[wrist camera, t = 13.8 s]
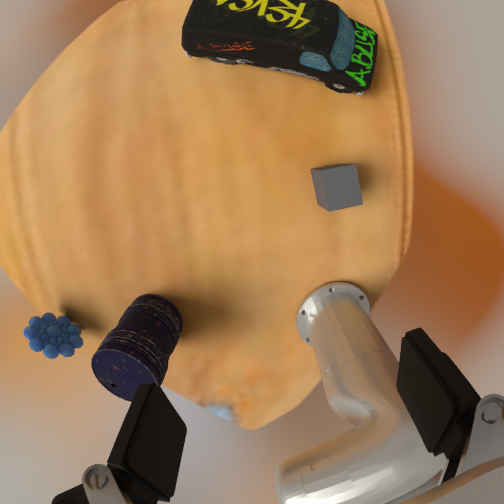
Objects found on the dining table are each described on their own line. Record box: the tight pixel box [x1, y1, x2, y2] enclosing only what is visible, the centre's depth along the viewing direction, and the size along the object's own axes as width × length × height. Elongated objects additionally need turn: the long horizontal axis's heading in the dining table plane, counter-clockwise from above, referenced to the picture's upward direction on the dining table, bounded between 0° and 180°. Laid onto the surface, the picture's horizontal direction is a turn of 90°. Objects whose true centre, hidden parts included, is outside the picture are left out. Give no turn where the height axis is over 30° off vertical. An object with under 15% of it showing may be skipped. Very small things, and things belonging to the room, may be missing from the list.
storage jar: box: [91, 294, 183, 402], centre depth 36 cm, size 10×10×15 cm
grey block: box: [311, 164, 363, 212], centre depth 33 cm, size 5×4×6 cm
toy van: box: [182, 0, 378, 95], centre depth 25 cm, size 11×25×10 cm, turn 78°
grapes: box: [24, 312, 83, 359], centre depth 38 cm, size 12×7×12 cm, turn 60°
